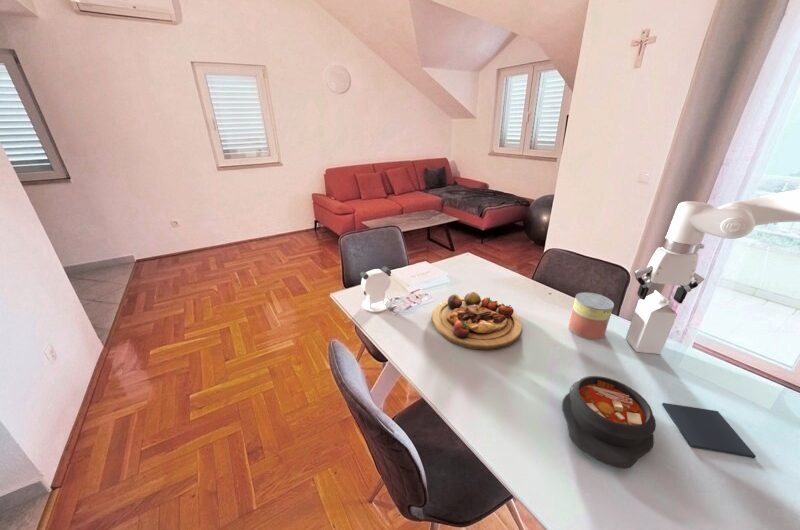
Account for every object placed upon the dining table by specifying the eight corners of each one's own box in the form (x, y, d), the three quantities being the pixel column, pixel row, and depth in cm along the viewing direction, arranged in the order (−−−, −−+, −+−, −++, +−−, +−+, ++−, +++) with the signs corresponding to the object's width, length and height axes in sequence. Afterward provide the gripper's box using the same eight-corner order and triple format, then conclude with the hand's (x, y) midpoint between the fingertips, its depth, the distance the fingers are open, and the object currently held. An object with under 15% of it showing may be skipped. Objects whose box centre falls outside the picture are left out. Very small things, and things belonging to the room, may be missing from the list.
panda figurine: (383, 294, 133) (382, 262, 127) (396, 306, 124) (396, 272, 118) (357, 301, 128) (355, 268, 122) (369, 315, 119) (367, 279, 113)
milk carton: (635, 352, 99) (655, 300, 91) (624, 338, 105) (642, 288, 98) (660, 354, 98) (682, 302, 90) (648, 340, 104) (667, 290, 96)
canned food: (607, 343, 103) (617, 312, 98) (569, 335, 107) (577, 305, 102) (601, 324, 113) (610, 295, 108) (566, 318, 117) (574, 289, 112)
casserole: (571, 377, 89) (578, 353, 86) (652, 410, 79) (664, 385, 75) (548, 441, 71) (555, 414, 68) (649, 495, 61) (663, 466, 57)
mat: (716, 412, 78) (717, 410, 78) (755, 458, 67) (756, 456, 67) (661, 404, 80) (662, 402, 80) (690, 446, 70) (691, 445, 69)
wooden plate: (483, 366, 93) (486, 343, 90) (413, 319, 116) (413, 300, 113) (539, 326, 112) (543, 306, 108) (469, 292, 134) (471, 275, 131)
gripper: (707, 244, 89) (684, 296, 96) (639, 239, 93) (622, 290, 100) (726, 254, 82) (700, 309, 90) (652, 248, 86) (632, 302, 93)
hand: (658, 299), depth 95 cm, fingers open, 9 cm apart
